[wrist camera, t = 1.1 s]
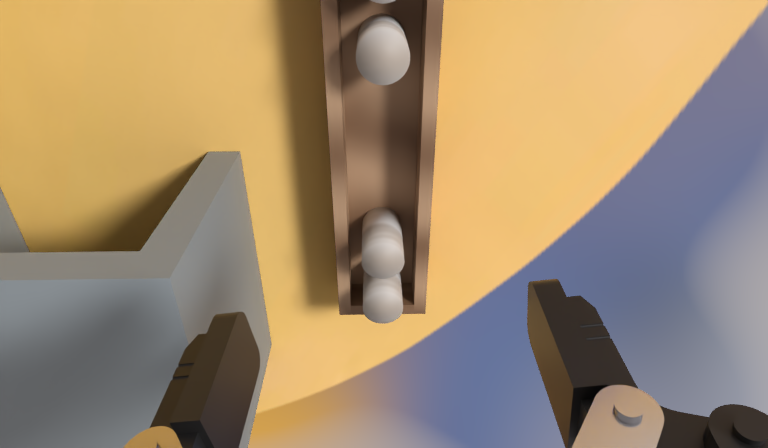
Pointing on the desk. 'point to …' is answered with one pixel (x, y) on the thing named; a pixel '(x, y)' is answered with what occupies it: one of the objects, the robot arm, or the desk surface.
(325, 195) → the desk surface
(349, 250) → the tray
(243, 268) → the grey bridge block
